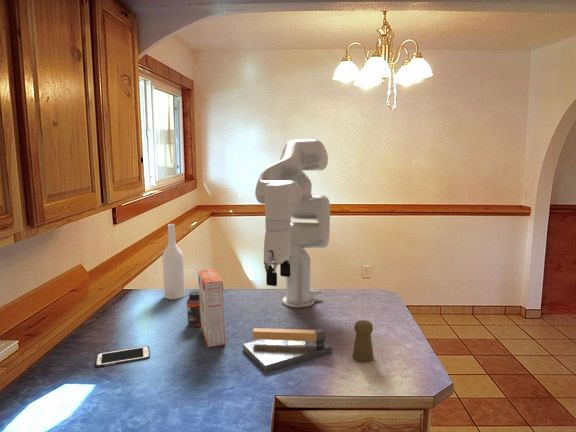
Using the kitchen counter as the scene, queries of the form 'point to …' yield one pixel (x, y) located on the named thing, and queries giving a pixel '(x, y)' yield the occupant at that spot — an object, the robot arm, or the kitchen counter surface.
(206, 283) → the cracker box
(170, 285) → the bottle
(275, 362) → the plate
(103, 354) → the cell phone
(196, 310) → the supplement bottle
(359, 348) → the cork
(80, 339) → the kitchen counter surface
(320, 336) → the wooden bar
